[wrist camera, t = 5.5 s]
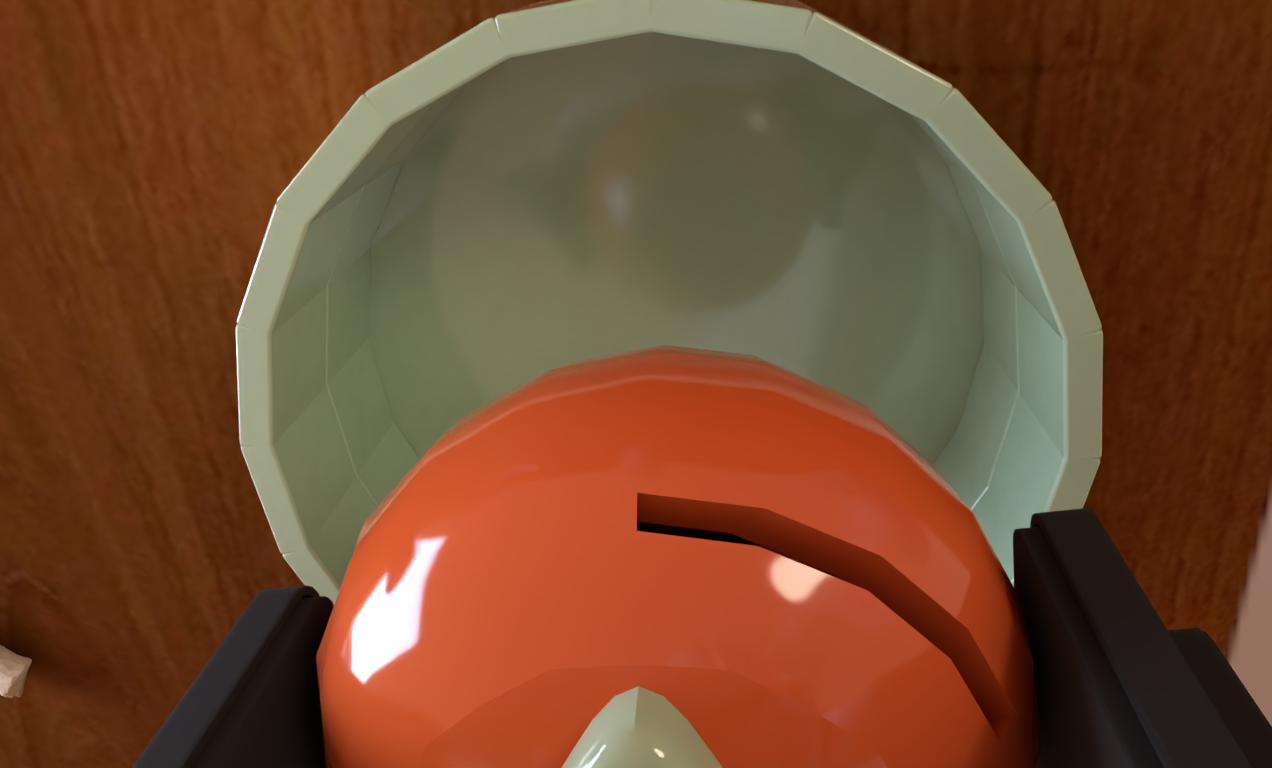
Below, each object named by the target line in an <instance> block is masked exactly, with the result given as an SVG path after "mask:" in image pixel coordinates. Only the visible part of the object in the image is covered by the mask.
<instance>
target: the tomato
mask: <svg viewBox="0 0 1272 768" xmlns="http://www.w3.org/2000/svg"><path fill="white" fill-rule="evenodd" d="M316 665H317V678H318V691H319V704H320V718H321V731H322V743H323V751H324V760H325V768H1036V765H1037V761H1038V758H1039V755H1040V751H1041V748H1040V735H1039V723H1038V711H1037V699H1036V687H1035V675H1034V663H1033V655H1032V650H1031V645H1030V640H1029V635H1028V630H1027V625H1026V620H1025V615H1024V609H1023V604H1022V601H1021V600H1020V598H1019V596H1018V594H1017V592H1016V590H1015V589H1014V587H1013V585H1012V583H1011V581H1010V579H1009V578H1008V576H1007V574H1006V572H1005V570H1004V568H1003V567H1002V565H1001V563H1000V561H999V559H998V557H997V556H996V554H995V552H994V550H993V548H992V546H991V545H990V543H989V541H988V539H987V537H986V535H985V534H984V532H983V530H982V528H981V526H980V524H979V523H978V521H977V519H976V517H975V515H974V514H973V512H972V511H971V510H970V508H969V507H968V506H967V505H966V503H965V502H964V501H963V499H962V498H961V497H960V495H959V494H958V493H957V492H956V490H955V489H954V488H953V486H952V485H951V484H950V482H949V481H948V480H947V479H946V477H945V476H944V475H943V473H942V472H941V471H940V470H939V469H938V468H937V467H935V466H934V465H933V464H932V463H931V462H930V461H929V460H927V459H926V458H925V457H924V456H923V455H922V454H921V453H920V452H918V451H917V450H916V449H915V448H914V447H913V446H912V445H911V444H909V443H908V442H907V441H906V440H905V439H904V438H903V437H901V436H900V435H899V434H898V433H897V432H896V431H895V430H894V429H892V428H891V427H890V426H889V425H888V424H887V423H886V422H884V421H883V420H882V419H881V418H880V417H879V416H878V415H877V414H875V413H874V412H873V411H872V410H871V409H870V408H869V407H868V406H866V405H865V404H863V403H861V402H859V401H857V400H855V399H853V398H851V397H849V396H847V395H845V394H843V393H841V392H839V391H837V390H835V389H833V388H830V387H828V386H826V385H823V384H821V383H818V382H816V381H814V380H811V379H809V378H807V377H804V376H802V375H800V374H797V373H795V372H793V371H790V370H788V369H785V368H783V367H781V366H778V365H776V364H774V363H771V362H769V361H767V360H764V359H762V358H760V357H757V356H755V355H748V354H740V353H731V352H723V351H714V350H705V349H697V348H688V347H680V346H671V345H661V346H655V347H650V348H645V349H639V350H634V351H628V352H623V353H618V354H612V355H607V356H602V357H596V358H591V359H585V360H580V361H576V362H573V363H570V364H567V365H564V366H560V367H557V368H554V369H551V370H549V371H547V372H545V373H543V374H542V375H540V376H538V377H536V378H534V379H532V380H530V381H528V382H526V383H525V384H523V385H521V386H519V387H517V388H515V389H513V390H511V391H509V392H507V393H506V394H504V395H502V396H500V397H498V398H496V399H494V400H492V401H490V402H489V403H487V404H485V405H483V406H481V407H479V408H477V409H475V410H473V411H472V412H470V413H468V414H466V415H464V416H463V417H462V418H461V419H460V420H459V421H458V422H457V423H456V424H455V425H454V426H453V427H452V428H450V429H449V430H448V431H447V432H446V433H445V434H444V435H443V436H442V437H441V438H440V439H439V440H438V441H437V442H436V443H435V444H434V445H433V446H432V447H431V448H430V449H429V450H428V451H427V452H426V453H425V454H424V455H423V456H422V458H421V459H420V460H419V461H418V462H417V463H416V464H415V465H414V467H413V468H412V469H411V470H410V471H409V472H408V473H407V474H406V476H405V477H404V478H403V479H402V480H401V481H400V482H399V483H398V485H397V486H396V487H395V488H394V489H393V490H392V491H391V492H390V494H389V495H388V496H387V497H386V498H385V499H384V500H383V501H382V503H381V504H380V505H379V506H378V507H377V508H376V509H375V510H374V512H373V513H372V514H371V515H370V516H369V517H368V518H367V519H366V521H365V522H364V524H363V527H362V529H361V532H360V535H359V538H358V541H357V543H356V546H355V549H354V552H353V554H352V557H351V560H350V563H349V566H348V568H347V571H346V574H345V577H344V579H343V582H342V585H341V588H340V591H339V593H338V596H337V599H336V602H335V605H334V607H333V610H332V613H331V616H330V618H329V621H328V624H327V627H326V630H325V632H324V635H323V638H322V641H321V644H320V646H319V649H318V652H317V655H316Z"/></svg>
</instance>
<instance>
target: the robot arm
mask: <svg viewBox="0 0 1272 768" xmlns="http://www.w3.org/2000/svg"><path fill="white" fill-rule="evenodd" d="M1013 565H1014V589H1015V590H1016V592H1017V594H1018V596H1019V598H1020V600H1021V601H1022V604H1023V609H1024V615H1025V620H1026V625H1027V630H1028V635H1029V640H1030V645H1031V650H1032V655H1033V663H1034V675H1035V687H1036V699H1037V711H1038V723H1039V735H1040V748H1041V751H1040V755H1039V758H1038V761H1037V765H1036V768H1272V727H1271V725H1270V724H1269V722H1268V721H1267V719H1266V718H1265V716H1264V715H1263V714H1262V712H1261V710H1260V709H1259V707H1258V706H1257V705H1256V703H1255V702H1254V700H1253V699H1252V697H1251V696H1250V694H1249V693H1248V691H1247V690H1246V688H1245V687H1244V685H1243V684H1242V682H1241V681H1240V679H1239V678H1238V676H1237V675H1236V673H1235V672H1234V670H1233V669H1232V667H1231V666H1230V664H1229V663H1228V661H1227V660H1226V659H1225V657H1224V656H1223V654H1222V653H1221V651H1220V650H1219V648H1218V647H1217V645H1216V644H1215V642H1214V641H1213V640H1212V639H1211V638H1210V637H1209V635H1208V634H1207V633H1206V632H1204V631H1202V630H1200V629H1198V628H1194V629H1181V630H1169V631H1167V629H1166V628H1165V626H1164V624H1163V623H1162V621H1161V620H1160V618H1159V616H1158V615H1157V613H1156V611H1155V610H1154V608H1153V607H1152V605H1151V603H1150V602H1149V600H1148V599H1147V597H1146V595H1145V594H1144V592H1143V590H1142V589H1141V587H1140V586H1139V584H1138V582H1137V581H1136V579H1135V578H1134V576H1133V574H1132V573H1131V571H1130V569H1129V568H1128V566H1127V565H1126V563H1125V561H1124V560H1123V558H1122V556H1121V555H1120V553H1119V552H1118V550H1117V548H1116V547H1115V545H1114V544H1113V542H1112V540H1111V539H1110V537H1109V535H1108V534H1107V532H1106V531H1105V529H1104V527H1103V526H1102V524H1101V523H1100V521H1099V519H1098V518H1097V516H1096V514H1095V513H1094V512H1093V511H1092V510H1091V509H1089V508H1082V509H1071V510H1061V511H1051V512H1041V513H1034V514H1033V515H1032V517H1031V522H1030V528H1020V529H1015V530H1014V533H1013ZM333 607H334V604H333V602H332V601H331V600H330V599H329V598H328V597H325V596H321V597H320V595H319V593H318V592H317V591H316V590H315V589H314V588H313V587H311V586H308V585H307V586H296V587H286V588H276V589H266V590H263V591H260V592H259V593H258V594H257V595H256V596H255V597H254V598H253V599H252V601H251V602H250V604H249V605H248V606H247V608H246V609H245V611H244V612H243V613H242V615H241V616H240V617H239V619H238V620H237V622H236V623H235V624H234V626H233V627H232V629H231V630H230V631H229V633H228V634H227V636H226V637H225V638H224V640H223V641H222V643H221V644H220V645H219V647H218V648H217V650H216V651H215V652H214V654H213V655H212V656H211V658H210V659H209V661H208V662H207V663H206V665H205V666H204V668H203V669H202V670H201V672H200V673H199V675H198V676H197V677H196V679H195V680H194V682H193V683H192V684H191V686H190V687H189V689H188V690H187V691H186V693H185V694H184V695H183V697H182V698H181V700H180V701H179V702H178V704H177V705H176V707H175V708H174V709H173V711H172V712H171V714H170V715H169V716H168V718H167V719H166V721H165V722H164V723H163V725H162V726H161V728H160V729H159V730H158V732H157V733H156V734H155V736H154V737H153V739H152V740H151V741H150V743H149V744H148V746H147V747H146V748H145V750H144V751H143V753H142V754H141V755H140V757H139V758H138V760H137V761H136V762H135V764H134V765H133V767H132V768H325V760H324V751H323V743H322V731H321V718H320V704H319V691H318V678H317V665H316V655H317V652H318V649H319V646H320V644H321V641H322V638H323V635H324V632H325V630H326V627H327V624H328V621H329V618H330V616H331V613H332V610H333Z"/></svg>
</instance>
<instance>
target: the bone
mask: <svg viewBox="0 0 1272 768" xmlns="http://www.w3.org/2000/svg"><path fill="white" fill-rule="evenodd" d="M31 662H32V659H30V658H27V657H23V656H20V655H17V654H15V653H14V652H12V651H10V650H9V649H7V648H5V647H4V646H2V645H0V695H2V696H4V697H9V698H13V696H16V697H19V698H20V696H21V695H22V693H23V692H24V681H25V680H26V676H27V671H28V669H29V667H30V664H31Z"/></svg>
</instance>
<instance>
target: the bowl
mask: <svg viewBox="0 0 1272 768" xmlns="http://www.w3.org/2000/svg"><path fill="white" fill-rule="evenodd" d="M1101 328H1102V324H1101V321H1100V318H1099V316H1098V313H1097V310H1096V308H1095V305H1094V302H1093V300H1092V297H1091V294H1090V292H1089V289H1088V286H1087V284H1086V281H1085V278H1084V276H1083V273H1082V270H1081V268H1080V265H1079V262H1078V260H1077V257H1076V254H1075V252H1074V249H1073V246H1072V244H1071V241H1070V238H1069V236H1068V233H1067V230H1066V228H1065V225H1064V222H1063V220H1062V217H1061V214H1060V212H1059V209H1058V206H1057V204H1056V202H1055V201H1054V200H1053V199H1052V195H1051V194H1050V193H1049V191H1048V190H1047V189H1046V188H1045V187H1044V186H1043V185H1042V184H1041V182H1040V181H1039V180H1038V179H1037V178H1036V177H1035V176H1034V175H1033V173H1032V172H1031V171H1030V170H1029V169H1028V168H1027V167H1026V166H1025V164H1024V163H1023V162H1022V161H1021V160H1020V159H1019V158H1018V156H1017V155H1016V154H1015V153H1014V152H1013V151H1012V150H1011V149H1010V147H1009V146H1008V145H1007V144H1006V143H1005V142H1004V141H1003V140H1002V138H1001V137H1000V136H999V135H998V134H997V133H996V132H995V131H994V129H993V128H992V127H991V126H990V125H989V124H988V123H987V122H986V120H985V119H984V118H983V117H982V116H981V115H980V114H979V112H978V111H977V110H976V109H975V108H974V107H973V106H972V105H971V103H970V102H969V101H968V100H967V99H966V98H965V97H964V96H963V94H962V93H961V92H960V91H959V90H958V89H956V88H955V87H953V86H952V85H951V83H949V82H947V81H945V80H944V79H942V78H940V77H938V76H937V75H935V74H933V73H931V72H930V71H928V70H926V69H924V68H922V67H921V66H919V65H917V64H915V63H914V62H912V61H910V60H908V59H907V58H905V57H903V56H901V55H899V54H898V53H896V52H894V51H892V50H891V49H889V48H887V47H885V46H883V45H881V44H879V43H878V42H876V41H874V40H872V39H870V38H868V37H866V36H865V35H863V34H861V33H859V32H857V31H855V30H853V29H851V28H850V27H848V26H846V25H844V24H842V23H840V22H838V21H837V20H835V19H833V18H831V17H829V16H827V15H825V14H824V13H822V12H820V11H818V10H816V9H814V8H812V7H810V6H809V5H807V4H805V3H803V2H801V1H799V0H544V1H540V2H537V3H534V4H531V5H527V6H524V7H521V8H518V9H514V10H511V11H508V12H505V13H502V14H498V15H497V16H494V17H491V18H488V19H486V20H485V21H483V22H481V23H480V24H478V25H476V26H475V27H473V28H471V29H470V30H468V31H466V32H465V33H463V34H461V35H459V36H458V37H456V38H454V39H453V40H451V41H449V42H448V43H446V44H444V45H443V46H441V47H439V48H437V49H436V50H434V51H432V52H431V53H429V54H427V55H426V56H424V57H422V58H421V59H419V60H417V61H416V62H414V63H412V64H410V65H409V66H407V67H405V68H404V69H402V70H400V71H399V72H397V73H395V74H394V75H392V76H390V77H389V78H387V79H385V80H383V81H382V82H380V83H378V84H377V85H375V86H373V87H372V88H370V89H368V90H367V91H366V93H365V94H363V95H361V96H360V97H359V98H358V99H357V100H356V102H355V103H354V104H353V105H352V107H351V108H350V109H349V110H348V112H347V113H346V114H345V115H344V117H343V118H342V119H341V120H340V122H339V123H338V124H337V125H336V127H335V128H334V129H333V130H332V131H331V133H330V134H329V135H328V136H327V138H326V139H325V140H324V141H323V143H322V144H321V145H320V146H319V148H318V149H317V150H316V151H315V153H314V154H313V155H312V156H311V157H310V159H309V160H308V161H307V162H306V164H305V165H304V166H303V167H302V169H301V170H300V171H299V172H298V174H297V175H296V176H295V177H294V179H293V180H292V181H291V182H290V184H289V185H288V186H287V187H286V188H285V190H284V191H283V192H282V193H281V195H280V196H279V197H278V198H277V203H276V204H275V205H274V208H273V211H272V214H271V217H270V220H269V223H268V226H267V229H266V232H265V235H264V238H263V241H262V244H261V247H260V251H259V254H258V257H257V260H256V263H255V266H254V269H253V272H252V275H251V278H250V281H249V284H248V287H247V290H246V293H245V296H244V299H243V302H242V305H241V308H240V311H239V314H238V318H237V325H236V356H237V385H238V414H239V442H240V444H241V451H242V453H243V456H244V458H245V461H246V464H247V466H248V469H249V472H250V474H251V477H252V480H253V482H254V485H255V487H256V490H257V493H258V495H259V498H260V501H261V503H262V506H263V509H264V511H265V514H266V517H267V519H268V522H269V524H270V527H271V530H272V532H273V535H274V538H275V540H276V543H277V546H278V548H279V551H280V553H282V554H283V558H284V559H285V560H286V562H287V563H288V564H289V566H290V567H291V568H292V569H293V571H294V572H295V573H296V575H297V576H298V577H299V578H300V580H301V581H302V582H303V584H304V585H305V586H307V585H308V586H311V587H313V588H314V589H315V590H316V591H317V592H318V593H319V595H320V597H321V596H325V597H328V598H329V599H330V600H331V601H332V602H333V604H334V605H335V602H336V599H337V596H338V593H339V591H340V588H341V585H342V582H343V579H344V577H345V574H346V571H347V568H348V566H349V563H350V560H351V557H352V554H353V552H354V549H355V546H356V543H357V541H358V538H359V535H360V532H361V529H362V527H363V524H364V522H365V521H366V519H367V518H368V517H369V516H370V515H371V514H372V513H373V512H374V510H375V509H376V508H377V507H378V506H379V505H380V504H381V503H382V501H383V500H384V499H385V498H386V497H387V496H388V495H389V494H390V492H391V491H392V490H393V489H394V488H395V487H396V486H397V485H398V483H399V482H400V481H401V480H402V479H403V478H404V477H405V476H406V474H407V473H408V472H409V471H410V470H411V469H412V468H413V467H414V465H415V464H416V463H417V462H418V461H419V460H420V459H421V458H422V456H423V455H424V454H425V453H426V452H427V451H428V450H429V449H430V448H431V447H432V446H433V445H434V444H435V443H436V442H437V441H438V440H439V439H440V438H441V437H442V436H443V435H444V434H445V433H446V432H447V431H448V430H449V429H450V428H452V427H453V426H454V425H455V424H456V423H457V422H458V421H459V420H460V419H461V418H462V417H463V416H464V415H466V414H468V413H470V412H472V411H473V410H475V409H477V408H479V407H481V406H483V405H485V404H487V403H489V402H490V401H492V400H494V399H496V398H498V397H500V396H502V395H504V394H506V393H507V392H509V391H511V390H513V389H515V388H517V387H519V386H521V385H523V384H525V383H526V382H528V381H530V380H532V379H534V378H536V377H538V376H540V375H542V374H543V373H545V372H547V371H549V370H551V369H554V368H557V367H560V366H564V365H567V364H570V363H573V362H576V361H580V360H585V359H591V358H596V357H602V356H607V355H612V354H618V353H623V352H628V351H634V350H639V349H645V348H650V347H655V346H661V345H671V346H680V347H688V348H697V349H705V350H714V351H723V352H731V353H740V354H748V355H755V356H757V357H760V358H762V359H764V360H767V361H769V362H771V363H774V364H776V365H778V366H781V367H783V368H785V369H788V370H790V371H793V372H795V373H797V374H800V375H802V376H804V377H807V378H809V379H811V380H814V381H816V382H818V383H821V384H823V385H826V386H828V387H830V388H833V389H835V390H837V391H839V392H841V393H843V394H845V395H847V396H849V397H851V398H853V399H855V400H857V401H859V402H861V403H863V404H865V405H866V406H868V407H869V408H870V409H871V410H872V411H873V412H874V413H875V414H877V415H878V416H879V417H880V418H881V419H882V420H883V421H884V422H886V423H887V424H888V425H889V426H890V427H891V428H892V429H894V430H895V431H896V432H897V433H898V434H899V435H900V436H901V437H903V438H904V439H905V440H906V441H907V442H908V443H909V444H911V445H912V446H913V447H914V448H915V449H916V450H917V451H918V452H920V453H921V454H922V455H923V456H924V457H925V458H926V459H927V460H929V461H930V462H931V463H932V464H933V465H934V466H935V467H937V468H938V469H939V470H940V471H941V472H942V473H943V475H944V476H945V477H946V479H947V480H948V481H949V482H950V484H951V485H952V486H953V488H954V489H955V490H956V492H957V493H958V494H959V495H960V497H961V498H962V499H963V501H964V502H965V503H966V505H967V506H968V507H969V508H970V510H971V511H972V512H973V514H974V515H975V517H976V519H977V521H978V523H979V524H980V526H981V528H982V530H983V532H984V534H985V535H986V537H987V539H988V541H989V543H990V545H991V546H992V548H993V550H994V552H995V554H996V556H997V557H998V559H999V561H1000V563H1001V565H1002V567H1003V568H1004V570H1005V572H1006V574H1007V576H1008V578H1009V579H1010V581H1011V583H1012V585H1013V587H1014V565H1013V533H1014V530H1015V529H1020V528H1030V522H1031V517H1032V515H1033V514H1034V513H1041V512H1051V511H1061V510H1071V509H1082V508H1083V506H1084V504H1085V501H1086V498H1087V496H1088V493H1089V491H1090V488H1091V485H1092V483H1093V480H1094V477H1095V475H1096V472H1097V470H1098V467H1099V464H1100V457H1101V455H1102V395H1103V331H1102V329H1101Z"/></svg>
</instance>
